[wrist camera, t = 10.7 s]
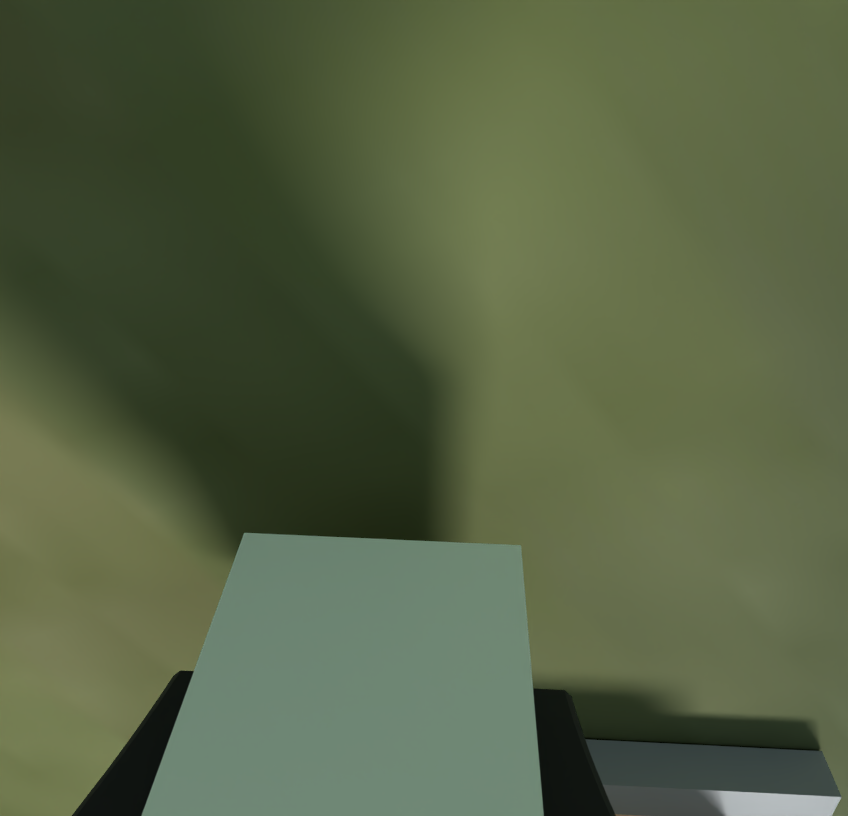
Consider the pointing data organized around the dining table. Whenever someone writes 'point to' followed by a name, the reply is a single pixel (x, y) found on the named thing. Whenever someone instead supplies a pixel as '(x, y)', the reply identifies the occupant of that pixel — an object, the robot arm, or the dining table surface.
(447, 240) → the dining table surface
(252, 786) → the sage block
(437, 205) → the dining table surface
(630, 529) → the dining table surface
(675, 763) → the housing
